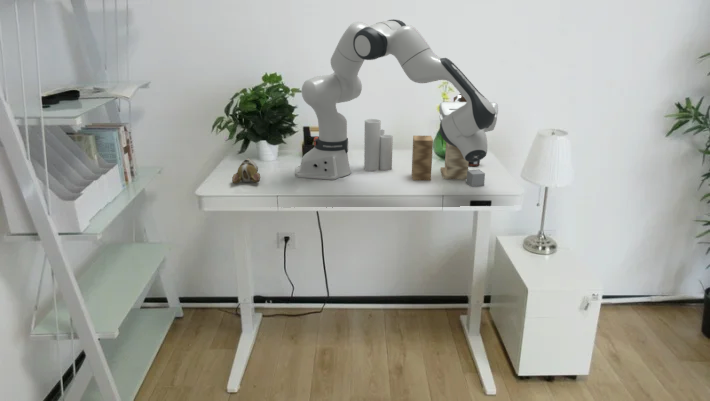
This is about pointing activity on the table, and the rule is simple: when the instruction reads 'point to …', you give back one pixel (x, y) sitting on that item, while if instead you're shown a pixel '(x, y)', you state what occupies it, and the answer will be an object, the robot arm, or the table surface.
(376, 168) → the vase
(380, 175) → the table surface
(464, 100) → the walnut rail
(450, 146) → the birch stand
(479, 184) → the grey block
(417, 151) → the oak post
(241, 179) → the ceramic sculpture
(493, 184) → the table surface
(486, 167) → the table surface
